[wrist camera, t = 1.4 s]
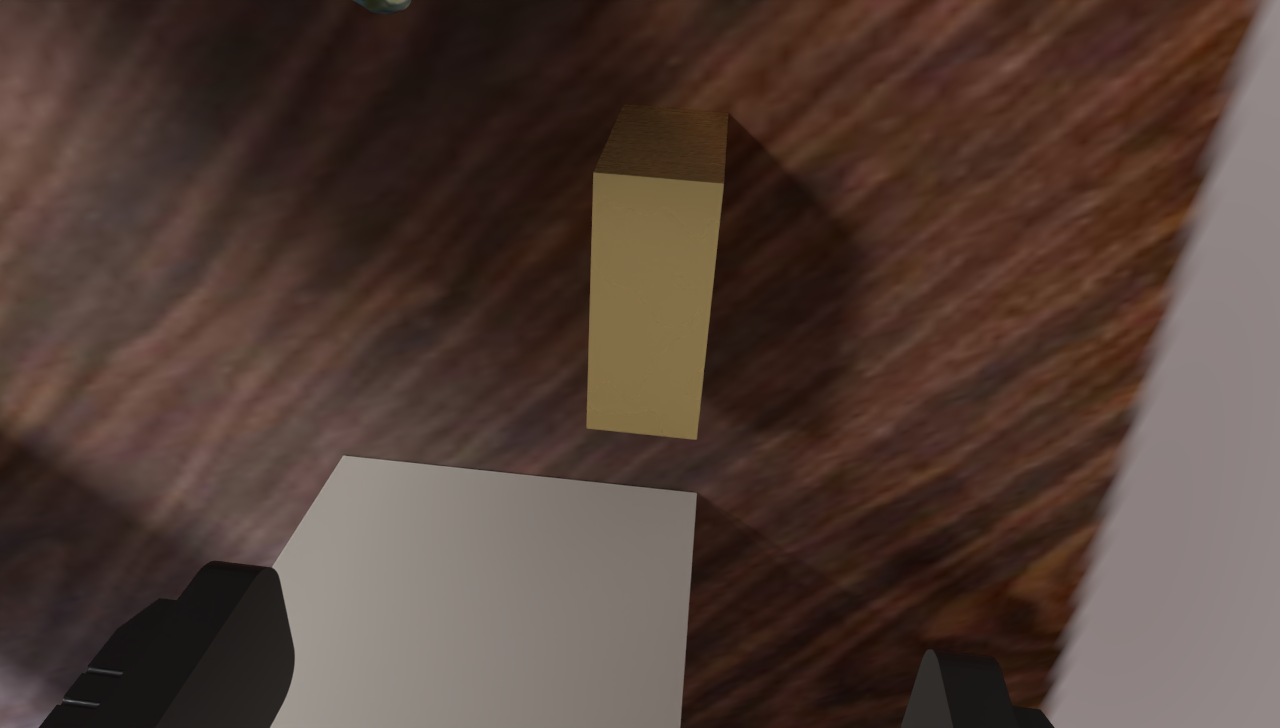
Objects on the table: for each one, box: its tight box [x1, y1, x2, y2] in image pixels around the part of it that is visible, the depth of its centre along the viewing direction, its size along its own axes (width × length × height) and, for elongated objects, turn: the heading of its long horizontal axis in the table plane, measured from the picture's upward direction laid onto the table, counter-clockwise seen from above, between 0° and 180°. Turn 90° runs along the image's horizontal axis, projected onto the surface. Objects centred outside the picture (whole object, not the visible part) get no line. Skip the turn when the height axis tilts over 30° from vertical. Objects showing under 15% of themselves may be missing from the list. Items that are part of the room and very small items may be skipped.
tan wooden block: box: [586, 104, 728, 440], centre depth 21 cm, size 6×2×5 cm, turn 177°
